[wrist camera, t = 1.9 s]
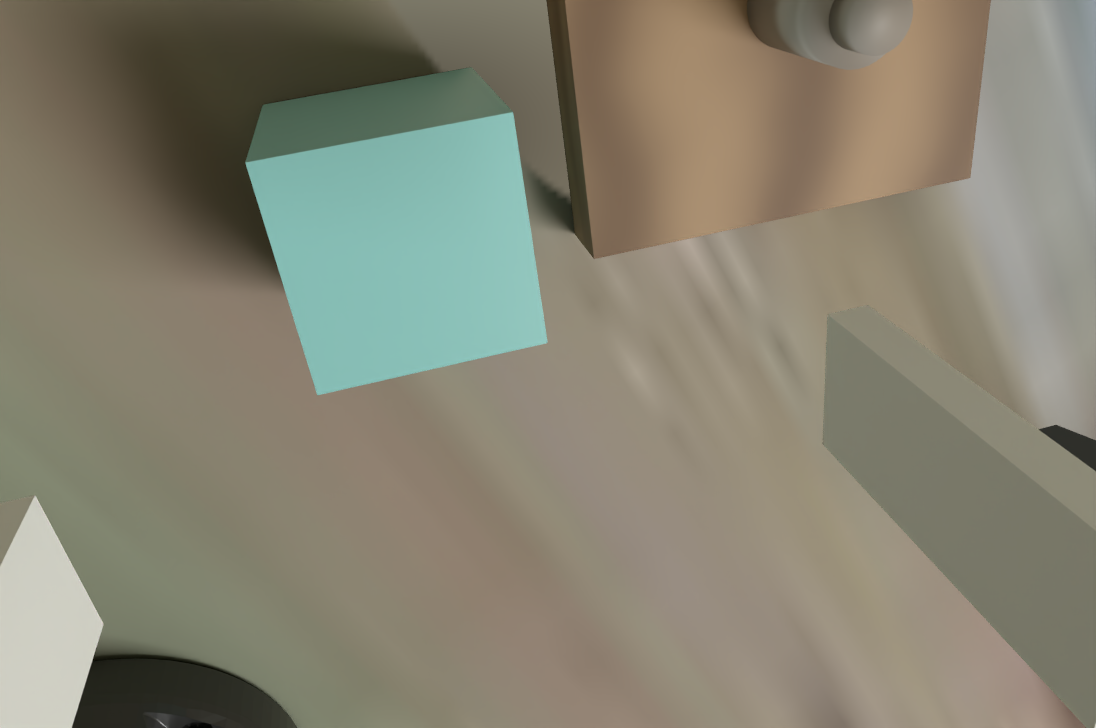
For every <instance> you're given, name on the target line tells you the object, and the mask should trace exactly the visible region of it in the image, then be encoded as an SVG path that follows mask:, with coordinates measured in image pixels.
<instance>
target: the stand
mask: <svg viewBox="0 0 1096 728" xmlns="http://www.w3.org/2000/svg"><path fill="white" fill-rule="evenodd" d="M990 2H991V0H547V7H548V16H549V24H550V32H551V41H552V49H553V57H554V65H555V73H556V82H557V90H558V98H559V106H560V114H561V122H562V130H563V138H564V147H565V155H566V162H567V171H568V180H569V188H570V196H571V204H572V212H573V220H574V229H575V235H576V236H577V237H578V239H579V240H580V241H581V243H582V244H583V245H584V246H585V248H586V249H587V250H588V252H589V253H590V254H591V256H592V257H593V258H594V259H596V258H600V257H605V256H610V255H614V254H619V253H624V252H628V251H633V250H638V249H642V248H647V247H652V246H656V245H661V244H666V243H670V242H675V241H679V240H684V239H689V238H693V237H698V236H703V235H707V234H712V233H717V232H721V231H726V230H731V229H735V228H740V227H745V226H749V225H754V224H758V223H763V222H768V221H772V220H777V219H782V218H786V217H791V216H796V215H800V214H805V213H810V212H814V211H819V210H824V209H828V208H833V207H837V206H842V205H847V204H851V203H856V202H861V201H865V200H870V199H875V198H879V197H884V196H889V195H893V194H898V193H903V192H907V191H912V190H917V189H921V188H926V187H930V186H935V185H940V184H944V183H949V182H954V181H958V180H963V179H968V178H970V175H971V167H972V158H973V149H974V141H975V132H976V123H977V115H978V106H979V97H980V88H981V80H982V71H983V62H984V54H985V45H986V36H987V28H988V19H989V10H990Z"/></svg>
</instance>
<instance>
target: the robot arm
mask: <svg viewBox="0 0 1096 728" xmlns="http://www.w3.org/2000/svg"><path fill="white" fill-rule="evenodd" d="M823 445H824V446H825V447H826V448H827V449H828V450H829V451H830V452H831V454H832V455H833V456H834V457H835V458H836V459H837V460H838V461H839V462H840V463H841V464H842V465H843V466H844V468H845V469H846V470H847V471H848V472H849V473H850V474H851V475H852V476H853V477H854V478H855V479H856V480H857V482H858V483H859V484H860V485H861V486H862V487H863V488H864V489H865V490H866V491H867V492H868V493H869V494H870V495H871V497H872V498H873V499H874V500H875V501H876V502H877V503H878V504H879V505H880V506H881V507H882V508H883V509H884V511H885V512H886V513H887V514H888V515H889V516H890V517H891V518H892V519H893V520H894V521H895V522H896V523H897V524H898V526H899V527H900V528H901V529H902V530H903V531H904V532H905V533H906V534H907V535H908V536H909V537H910V538H911V540H912V541H913V542H914V543H915V544H916V545H917V546H918V547H919V548H920V549H921V550H922V551H923V552H924V554H925V555H926V556H927V557H928V558H929V559H930V560H931V561H932V562H933V563H934V564H935V565H936V566H937V567H938V569H939V570H940V571H941V572H942V573H943V574H944V575H945V576H946V577H947V578H948V579H949V580H950V581H951V583H952V584H953V585H954V586H955V587H956V588H957V589H958V590H959V591H960V592H961V593H962V594H963V595H964V596H965V598H966V599H967V600H968V601H969V602H970V603H971V604H972V605H973V606H974V607H975V608H976V609H977V610H978V612H979V613H980V614H981V615H982V616H983V617H984V618H985V619H986V620H987V621H988V622H989V623H990V624H991V626H992V627H993V628H994V629H995V630H996V631H997V632H998V633H999V634H1000V635H1001V636H1002V637H1003V638H1004V639H1005V641H1006V642H1007V643H1008V644H1009V645H1010V646H1011V647H1012V648H1013V649H1014V650H1015V651H1016V652H1017V653H1018V655H1019V656H1020V657H1021V658H1022V659H1023V660H1024V661H1025V662H1026V663H1027V664H1028V665H1029V666H1030V667H1031V668H1032V670H1033V671H1034V672H1035V673H1036V674H1037V675H1038V676H1039V677H1040V678H1041V679H1042V680H1043V681H1044V682H1045V684H1046V685H1047V686H1048V687H1049V688H1050V689H1051V690H1052V691H1053V692H1054V693H1055V694H1056V695H1057V696H1058V698H1059V699H1060V700H1061V701H1062V702H1063V703H1064V704H1065V705H1066V706H1067V707H1068V708H1069V709H1070V710H1071V711H1072V713H1073V714H1074V715H1075V716H1076V717H1077V718H1078V719H1079V720H1080V721H1081V722H1082V723H1083V724H1084V725H1085V727H1086V728H1096V440H1093V439H1091V438H1088V437H1086V436H1083V435H1080V434H1078V433H1075V432H1073V431H1070V430H1068V429H1065V428H1063V427H1060V426H1058V425H1054V426H1050V427H1046V428H1042V429H1037V428H1036V427H1034V426H1033V425H1032V424H1030V423H1029V422H1027V421H1026V420H1025V419H1023V418H1022V417H1021V416H1019V415H1018V414H1017V413H1015V412H1014V411H1012V410H1011V409H1010V408H1008V407H1007V406H1006V405H1004V404H1003V403H1001V402H1000V401H999V400H997V399H996V398H995V397H993V396H992V395H991V394H989V393H988V392H986V391H985V390H984V389H982V388H981V387H980V386H978V385H977V384H975V383H974V382H973V381H971V380H970V379H969V378H967V377H966V376H964V375H963V374H962V373H960V372H959V371H958V370H956V369H955V368H954V367H952V366H951V365H949V364H948V363H947V362H945V361H944V360H943V359H941V358H940V357H938V356H937V355H936V354H934V353H933V352H932V351H930V350H929V349H928V348H926V347H925V346H923V345H922V344H921V343H919V342H918V341H917V340H915V339H914V338H912V337H911V336H910V335H908V334H907V333H906V332H904V331H903V330H901V329H900V328H899V327H897V326H896V325H895V324H893V323H892V322H891V321H889V320H888V319H886V318H885V317H884V316H882V315H881V314H880V313H878V312H877V311H875V310H874V309H873V308H871V307H870V306H869V305H866V306H862V307H857V308H853V309H848V310H844V311H840V312H835V313H831V314H828V317H827V342H826V368H825V394H824V420H823ZM102 627H103V622H102V620H101V618H100V616H99V615H98V613H97V611H96V609H95V607H94V605H93V603H92V601H91V600H90V598H89V596H88V594H87V592H86V590H85V588H84V586H83V584H82V583H81V581H80V579H79V577H78V575H77V573H76V571H75V569H74V568H73V566H72V564H71V562H70V560H69V558H68V556H67V554H66V552H65V551H64V549H63V547H62V545H61V543H60V541H59V539H58V537H57V536H56V534H55V532H54V530H53V528H52V526H51V524H50V522H49V520H48V519H47V517H46V515H45V513H44V511H43V509H42V507H41V505H40V504H39V502H38V500H37V498H36V496H35V495H33V496H29V497H25V498H20V499H16V500H11V501H7V502H3V503H0V728H297V727H296V725H295V724H294V722H293V721H292V719H291V718H290V717H289V715H288V714H287V713H286V712H285V711H284V710H283V709H282V708H281V707H280V706H279V705H278V704H277V703H276V702H275V701H274V700H272V699H271V698H270V697H268V696H267V695H266V694H264V693H263V692H261V691H260V690H258V689H257V688H255V687H253V686H251V685H250V684H248V683H246V682H244V681H242V680H240V679H237V678H235V677H233V676H230V675H228V674H225V673H222V672H220V671H216V670H213V669H210V668H206V667H202V666H198V665H194V664H189V663H183V662H177V661H169V660H158V659H113V660H102V661H94V662H92V660H93V657H94V653H95V650H96V647H97V644H98V640H99V637H100V634H101V631H102Z"/></svg>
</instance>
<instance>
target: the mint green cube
mask: <svg viewBox="0 0 1096 728" xmlns="http://www.w3.org/2000/svg"><path fill="white" fill-rule="evenodd" d="M245 163H246V167H247V170H248V173H249V176H250V180H251V183H252V186H253V189H254V192H255V196H256V199H257V202H258V205H259V209H260V212H261V215H262V218H263V221H264V225H265V228H266V231H267V234H268V238H269V241H270V244H271V247H272V250H273V254H274V257H275V260H276V263H277V266H278V270H279V273H280V276H281V279H282V283H283V286H284V289H285V292H286V295H287V299H288V302H289V305H290V308H291V312H292V315H293V318H294V321H295V324H296V328H297V331H298V334H299V337H300V341H301V344H302V347H303V350H304V353H305V357H306V360H307V363H308V366H309V369H310V373H311V376H312V379H313V382H314V386H315V389H316V392H317V395H320V394H325V393H329V392H334V391H338V390H342V389H347V388H351V387H356V386H360V385H364V384H369V383H373V382H378V381H382V380H386V379H391V378H395V377H400V376H404V375H408V374H413V373H417V372H422V371H426V370H431V369H435V368H439V367H444V366H448V365H453V364H457V363H461V362H466V361H470V360H475V359H479V358H483V357H488V356H492V355H497V354H501V353H505V352H510V351H514V350H519V349H523V348H527V347H532V346H536V345H541V344H545V343H547V336H546V329H545V323H544V316H543V309H542V303H541V296H540V289H539V283H538V276H537V269H536V262H535V256H534V249H533V242H532V236H531V229H530V222H529V216H528V209H527V202H526V195H525V189H524V182H523V175H522V169H521V162H520V155H519V149H518V142H517V135H516V129H515V122H514V115H513V112H512V110H510V108H509V107H508V106H507V105H506V104H505V103H504V102H503V101H502V100H501V99H500V97H499V96H497V94H496V93H495V92H494V91H493V90H492V89H491V88H490V87H489V86H488V85H487V83H486V82H485V81H484V80H483V79H482V78H481V77H480V76H479V75H478V74H477V73H476V72H475V70H474V69H472V68H471V67H470V68H465V69H458V70H453V71H447V72H442V73H436V74H431V75H425V76H420V77H414V78H409V79H403V80H397V81H392V82H386V83H381V84H375V85H370V86H364V87H359V88H353V89H348V90H342V91H336V92H331V93H325V94H320V95H314V96H309V97H303V98H298V99H292V100H286V101H281V102H275V103H270V104H264V105H263V106H262V109H261V113H260V116H259V119H258V122H257V126H256V129H255V132H254V136H253V139H252V142H251V145H250V149H249V152H248V155H247V159H246V162H245Z"/></svg>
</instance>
